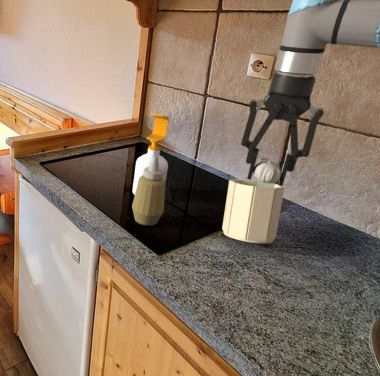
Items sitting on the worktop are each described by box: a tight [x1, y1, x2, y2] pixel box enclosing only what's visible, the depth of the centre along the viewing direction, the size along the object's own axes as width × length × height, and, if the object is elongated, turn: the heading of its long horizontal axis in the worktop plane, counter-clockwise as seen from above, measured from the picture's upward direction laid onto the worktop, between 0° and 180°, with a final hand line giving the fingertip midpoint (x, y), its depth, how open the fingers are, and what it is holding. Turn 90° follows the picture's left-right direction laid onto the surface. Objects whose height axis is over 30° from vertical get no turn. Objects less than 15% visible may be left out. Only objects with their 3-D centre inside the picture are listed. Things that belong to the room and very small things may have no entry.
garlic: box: [253, 157, 282, 184], centre depth 89 cm, size 6×5×5 cm
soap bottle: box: [132, 113, 170, 196], centre depth 116 cm, size 9×9×25 cm
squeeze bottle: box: [131, 156, 166, 227], centre depth 103 cm, size 8×8×18 cm
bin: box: [221, 178, 285, 244], centre depth 97 cm, size 11×11×13 cm
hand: (264, 180), depth 90 cm, fingers closed on garlic, 6 cm apart
